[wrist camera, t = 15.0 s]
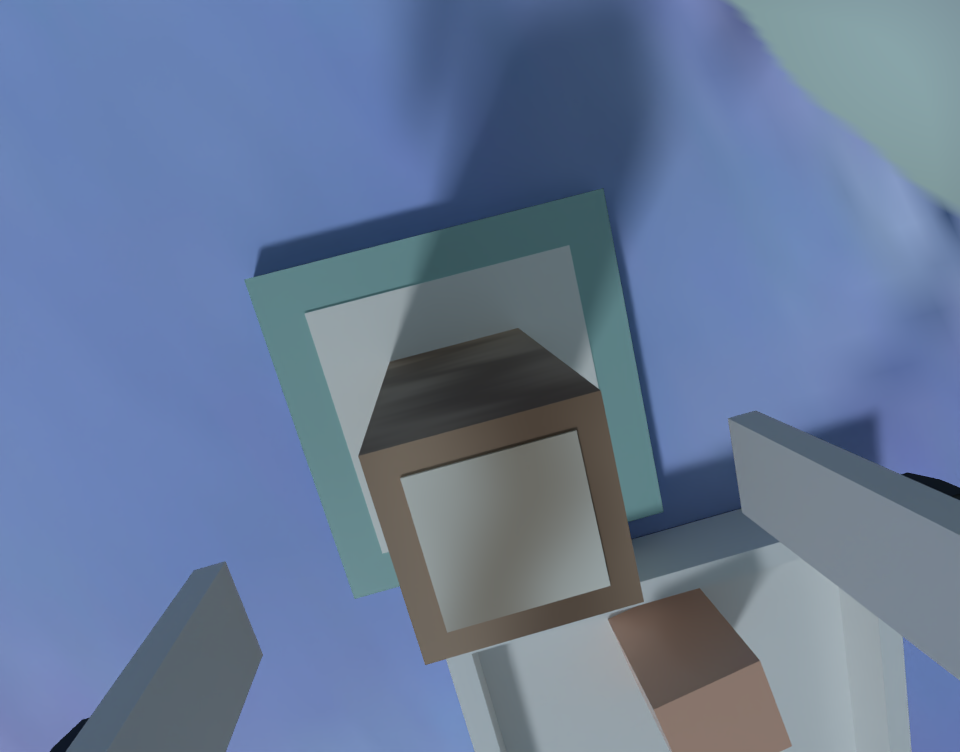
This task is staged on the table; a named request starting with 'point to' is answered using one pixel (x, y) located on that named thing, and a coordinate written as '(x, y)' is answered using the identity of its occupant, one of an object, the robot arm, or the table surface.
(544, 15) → the table surface
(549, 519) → the walnut box
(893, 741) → the tray
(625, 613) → the clay cube
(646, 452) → the board
